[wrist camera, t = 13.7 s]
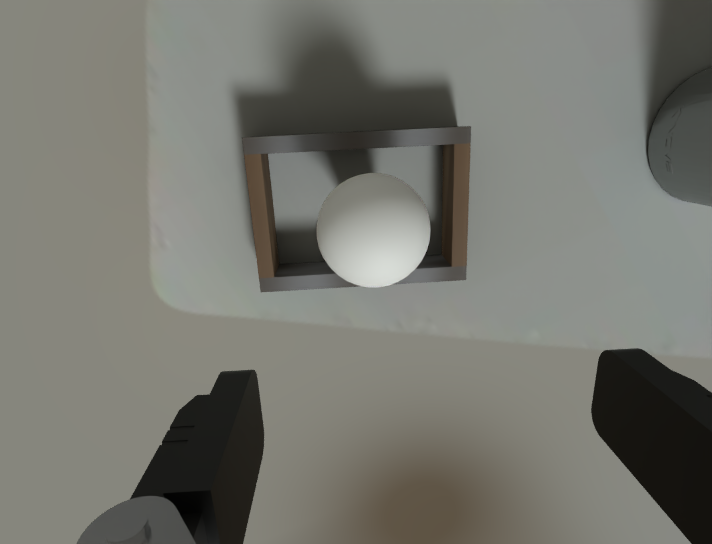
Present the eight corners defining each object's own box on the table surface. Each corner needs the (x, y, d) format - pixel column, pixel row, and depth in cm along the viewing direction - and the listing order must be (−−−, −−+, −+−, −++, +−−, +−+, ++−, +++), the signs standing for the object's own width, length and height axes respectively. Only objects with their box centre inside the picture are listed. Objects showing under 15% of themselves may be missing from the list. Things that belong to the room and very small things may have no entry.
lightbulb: (309, 176, 31) (297, 200, 20) (394, 151, 30) (427, 163, 20) (334, 258, 32) (335, 318, 22) (415, 235, 32) (454, 285, 22)
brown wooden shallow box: (457, 126, 30) (470, 126, 27) (454, 266, 33) (466, 279, 30) (250, 136, 30) (242, 137, 27) (267, 278, 33) (260, 292, 30)
